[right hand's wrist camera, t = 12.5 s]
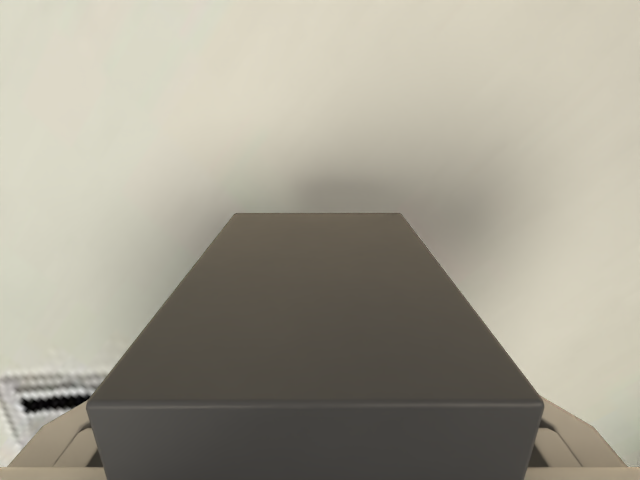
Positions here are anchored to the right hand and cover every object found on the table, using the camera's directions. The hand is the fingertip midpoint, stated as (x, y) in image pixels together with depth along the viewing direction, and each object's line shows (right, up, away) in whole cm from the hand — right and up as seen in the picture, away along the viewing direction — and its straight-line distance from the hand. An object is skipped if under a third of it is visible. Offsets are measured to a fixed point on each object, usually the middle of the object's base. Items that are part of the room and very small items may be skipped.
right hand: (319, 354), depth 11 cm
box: (0, -7, +6) cm, 9 cm away
